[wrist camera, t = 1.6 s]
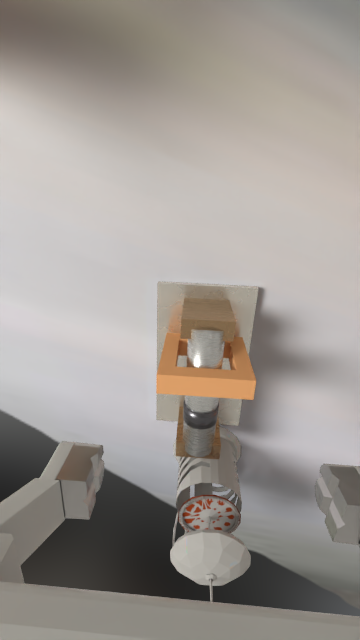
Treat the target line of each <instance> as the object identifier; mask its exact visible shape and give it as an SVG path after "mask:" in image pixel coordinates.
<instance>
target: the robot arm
mask: <svg viewBox="0 0 360 640" xmlns="http://www.w3.org/2000/svg"><path fill="white" fill-rule="evenodd" d="M103 453H104V452H103V446H102V445H96V444H87V443H78V442H67V441H62V442H61V443H60V444H59V445H58V447H57V449H56V451H55V452H54V454H53V456H52V458H51V459H50V461H49V463H48V465H47V466H46V468H45V470H44V472H43V474H42V475H41V477H40V478H35V479H34V480H32V481H31V482H29V483H28V484H27V485H25V486H24V487H22V488H21V489H19V490H18V491H17V492H15V493H14V494H12V495H11V496H10V497H8V498H7V499H5V500H4V501H2V502H1V503H0V640H360V617H358V616H348V615H337V614H327V613H318V612H307V611H297V610H287V609H277V608H266V607H257V606H247V605H237V604H226V603H215V602H206V601H196V600H185V599H175V598H165V597H153V596H145V595H134V594H124V593H114V592H103V591H93V590H84V589H73V588H63V587H53V586H43V585H32V584H24V580H23V576H22V571H21V567H20V565H21V564H22V563H23V562H24V561H25V560H26V559H27V558H28V557H29V556H30V555H31V554H32V553H33V552H34V551H35V550H36V549H37V548H38V547H39V545H41V544H42V543H43V542H44V540H45V539H46V538H47V537H48V536H49V535H50V534H51V533H52V532H53V531H54V530H55V529H56V528H57V527H58V526H59V525H60V524H61V523H62V522H63V521H64V520H65V518H74V519H90V516H91V513H92V510H93V507H94V504H95V501H96V500H95V493H96V492H97V491H98V490H99V489H100V486H101V483H102V479H103V474H104V461H103V460H102V459H101V458H102V455H103ZM320 473H321V475H322V477H320V478H319V479H317V481H316V485H315V496H316V501H317V504H318V506H319V509H320V510H321V511H322V512H323V513H324V514H325V515H326V519H325V524H326V526H327V529H328V531H329V534H330V536H331V538H332V541H333V542H338V543H346V544H354V545H359V547H360V466H350V465H336V464H323V465H322V466H321V469H320Z"/></svg>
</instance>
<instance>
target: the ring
mask: <svg viewBox="0 0 360 640" xmlns="http://www.w3.org/2000/svg"><path fill="white" fill-rule="evenodd" d="M180 336H181V334H180V333H167V334H166V338H165V342H164V346H163V350H162V354H161V359H160V363H159V367H158V371H157V394H172V395H187V396H202V397H217V398H232V399H246V400H253V399H254V393H255V386H256V378H255V375H254V372H253V369H252V365H251V362H250V359H249V356H248V353H247V350H246V347H245V343H244V340H243V337H234V341H225V344H224V354H223V358H229V363H230V368H231V370H224V369H208V368H192V367H177V362H178V355H181V356H187V347H188V339H183V338H180Z"/></svg>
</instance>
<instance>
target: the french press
mask: <svg viewBox="0 0 360 640" xmlns="http://www.w3.org/2000/svg"><path fill="white" fill-rule="evenodd" d="M219 430H220V441H221V450H220V458H219V459H206V458H192V457H179V456H176V440H175V442H174V445H173V450H174V456H175V458H176V459H177V461H178V463H179V467H180V469H179V474H178V484H179V487H177V499H176V506H177V510H178V512H177V516H176V521H175V525H174V529H173V548H172V549H171V552H170V555H171V562H172V564H173V565H174V566H175V568H176V569H177V570H178V572H180V573H181V574H183V575H185V576H187V577H188V578H190V579H191V580H193V581H195V582H196V583H198V584H201V585H210V600H211V602H213V591H212V585H214V586H218V585H224V584H226V583H228V582H230V581H231V580H233V579H235V578H237V577H239V576H241V575H242V574H244V572H245V571H246V570H247V569H248V567H249V566H250V560H251V556H250V554H249V552H248V550H247V548H246V546H245V545H244V543H243V542H242V541H241V540H239V539H238V538H236V537H235V536H234V535H232V534H230V533H231V532H233V531H235V530H236V528H237V527H238V525H239V524H240V518H241V514H240V512H241V504H242V502H241V494H240V487H239V484H238V482H237V479H238V475H237V466H236V463H237V461H238V459H239V458H240V455H241V445H240V443H239V441H238V439H237V437H236V436H235V435H234V434H232V433H231V432H230V431H229V430H227V429H226V428H223V427H220V426H219ZM212 483H215V484H221V485H223V486H224V487H213V486H212ZM194 484H195V497H192V498H190V486H191V485H194ZM229 488H230V489H231V491H230V492H229V493H228V494H227V495H223V496H217V495H212V491H215V492H222V491H227V490H228V489H229ZM234 492H235V497H234V498H233V499H232V500H231V501H229V500H228V499H229V498H230V497H231V496H232V495H233V494H234ZM237 496H238V500H237V504H236V506H235V505H234V503H235V501H236V498H237ZM177 520H178V521H179V523H180V524H181V526H182V527H183V529H185V535H183V536H182V537H180V538H178V540H177V541H176V543H174V541H175V531H176V524H177ZM187 531H188V533H187Z"/></svg>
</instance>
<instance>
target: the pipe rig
mask: <svg viewBox="0 0 360 640" xmlns="http://www.w3.org/2000/svg"><path fill="white" fill-rule="evenodd" d="M258 289H259V288H258V287H257V286H238V285H218V284H199V283H180V282H160V281H158V299H157V371H158V367H159V363H160V359H161V354H162V350H163V346H164V342H165V338H166V334H167V333H180V334H181V336H180V338H183V339H188V347H187V356H181V355H178V362H177V367H192V368H208V369H224V370H231V368H230V363H229V358H223V354H224V344H225V341H234V337H243V340H244V343H245V347H246V350H247V353H248V356H249V351H250V344H251V337H252V330H253V323H254V316H255V309H256V303H257V296H258ZM241 405H242V399H232V398H217V397H202V396H187V395H172V394H157V420H164V421H178V427H177V438H176V456H179V457H192V458H206V459H219V458H220V450H221V441H220V430H219V424H221V425H235V426H239V419H240V412H241Z"/></svg>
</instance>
